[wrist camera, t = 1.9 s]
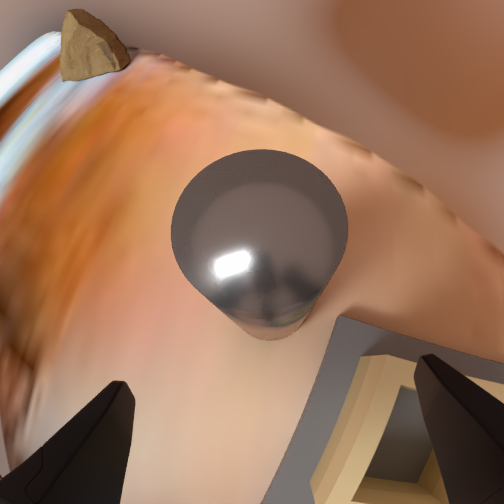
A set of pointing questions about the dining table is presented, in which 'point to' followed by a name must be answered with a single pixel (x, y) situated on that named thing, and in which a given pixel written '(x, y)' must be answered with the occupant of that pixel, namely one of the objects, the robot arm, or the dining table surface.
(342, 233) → the hinge pin
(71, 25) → the rock
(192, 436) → the dining table surface
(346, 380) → the grey plate with frame
